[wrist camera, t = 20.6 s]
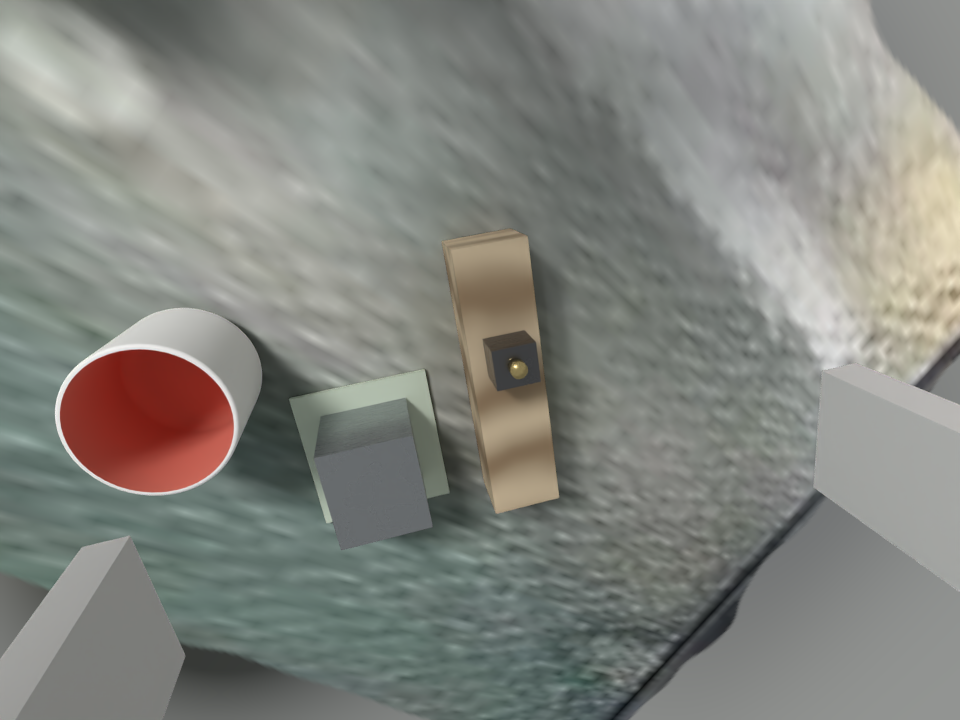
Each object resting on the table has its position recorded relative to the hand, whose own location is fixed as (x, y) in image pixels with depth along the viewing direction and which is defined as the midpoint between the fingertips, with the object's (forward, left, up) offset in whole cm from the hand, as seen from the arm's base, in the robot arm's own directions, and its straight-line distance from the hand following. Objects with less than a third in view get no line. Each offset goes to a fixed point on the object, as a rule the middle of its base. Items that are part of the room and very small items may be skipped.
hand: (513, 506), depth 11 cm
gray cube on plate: (+16, -6, -34) cm, 38 cm away
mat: (+16, -6, -35) cm, 39 cm away
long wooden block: (+11, +6, -35) cm, 37 cm away
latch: (+8, +6, -29) cm, 31 cm away
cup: (+6, -17, -35) cm, 39 cm away
